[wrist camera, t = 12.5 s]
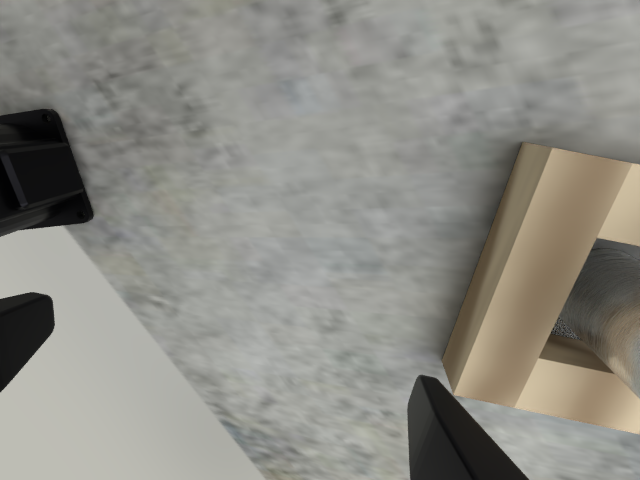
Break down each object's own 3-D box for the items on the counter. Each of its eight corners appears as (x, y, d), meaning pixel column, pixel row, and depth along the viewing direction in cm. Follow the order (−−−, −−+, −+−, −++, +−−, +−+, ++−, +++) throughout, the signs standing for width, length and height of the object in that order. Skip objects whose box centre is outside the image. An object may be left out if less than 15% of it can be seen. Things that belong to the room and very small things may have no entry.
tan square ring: (441, 360, 23) (453, 394, 21) (522, 141, 19) (552, 147, 16) (657, 405, 23) (699, 446, 20) (797, 195, 18) (877, 211, 15)
